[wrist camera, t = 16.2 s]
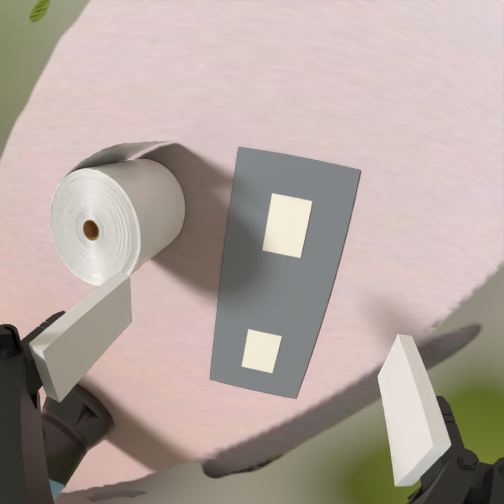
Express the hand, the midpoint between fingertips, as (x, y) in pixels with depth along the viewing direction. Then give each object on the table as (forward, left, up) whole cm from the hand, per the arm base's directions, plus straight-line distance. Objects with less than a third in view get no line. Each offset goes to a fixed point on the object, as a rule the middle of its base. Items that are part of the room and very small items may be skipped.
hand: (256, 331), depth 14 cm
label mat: (-8, 0, -19) cm, 20 cm away
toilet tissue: (0, +16, -19) cm, 25 cm away
